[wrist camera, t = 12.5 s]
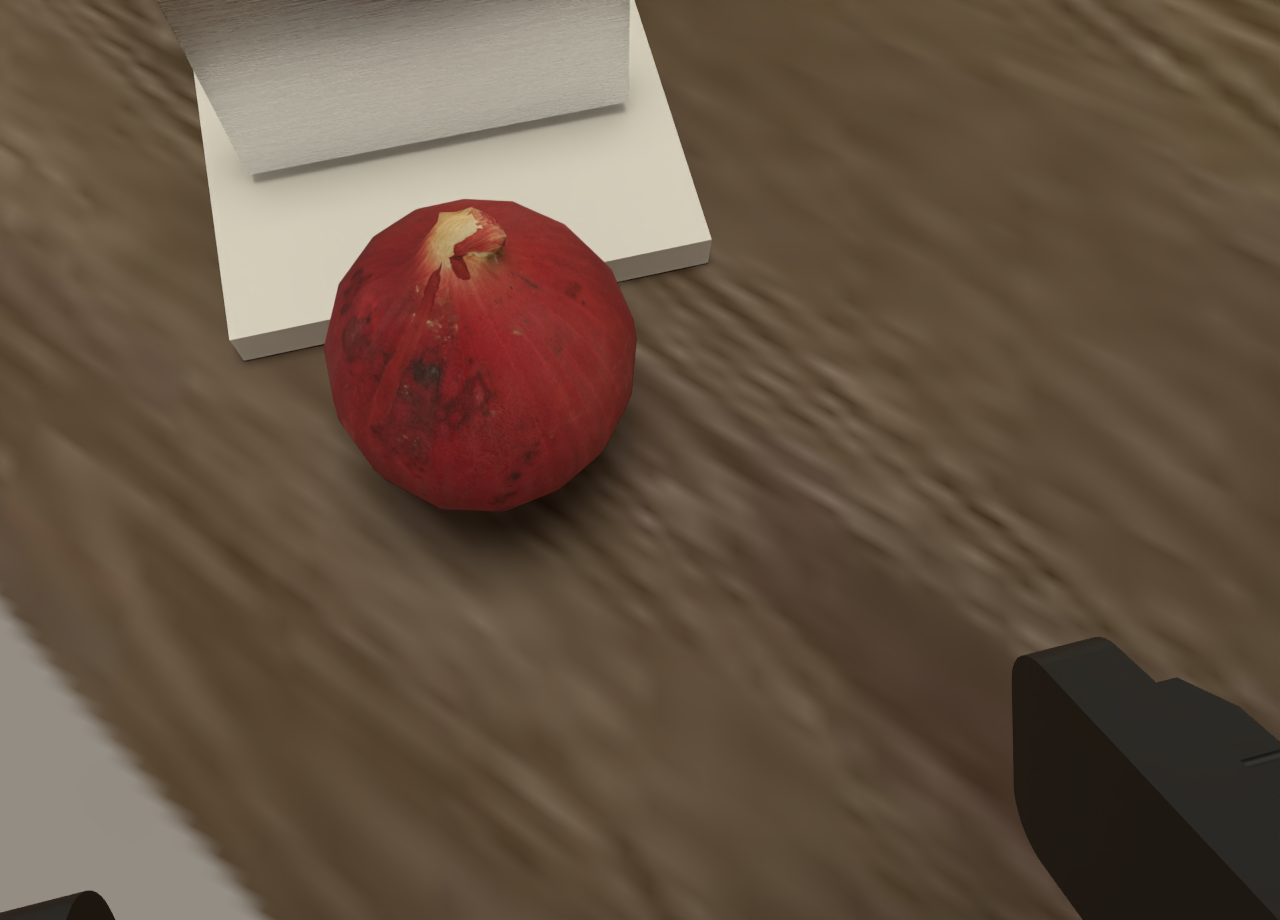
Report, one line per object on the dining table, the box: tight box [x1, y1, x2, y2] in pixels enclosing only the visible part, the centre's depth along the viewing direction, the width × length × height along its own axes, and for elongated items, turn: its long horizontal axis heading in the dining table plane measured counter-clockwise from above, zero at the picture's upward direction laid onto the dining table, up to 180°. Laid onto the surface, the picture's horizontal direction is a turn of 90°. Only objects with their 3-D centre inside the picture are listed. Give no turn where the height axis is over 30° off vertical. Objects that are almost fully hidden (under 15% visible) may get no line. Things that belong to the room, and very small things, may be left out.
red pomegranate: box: [324, 199, 637, 512], centre depth 21 cm, size 6×6×8 cm
